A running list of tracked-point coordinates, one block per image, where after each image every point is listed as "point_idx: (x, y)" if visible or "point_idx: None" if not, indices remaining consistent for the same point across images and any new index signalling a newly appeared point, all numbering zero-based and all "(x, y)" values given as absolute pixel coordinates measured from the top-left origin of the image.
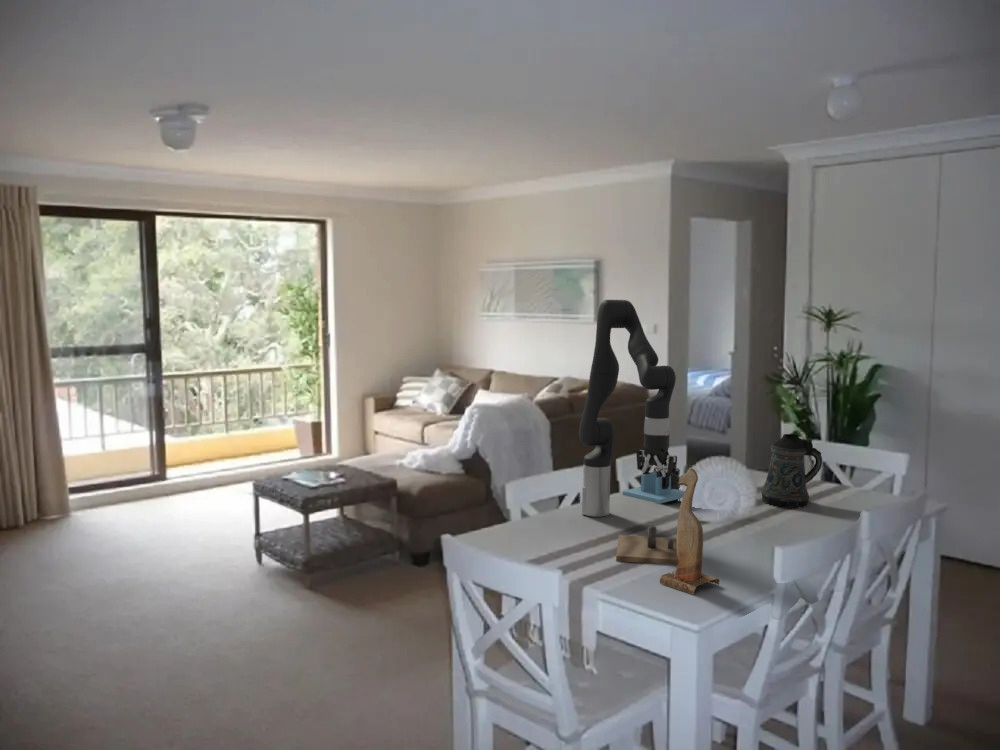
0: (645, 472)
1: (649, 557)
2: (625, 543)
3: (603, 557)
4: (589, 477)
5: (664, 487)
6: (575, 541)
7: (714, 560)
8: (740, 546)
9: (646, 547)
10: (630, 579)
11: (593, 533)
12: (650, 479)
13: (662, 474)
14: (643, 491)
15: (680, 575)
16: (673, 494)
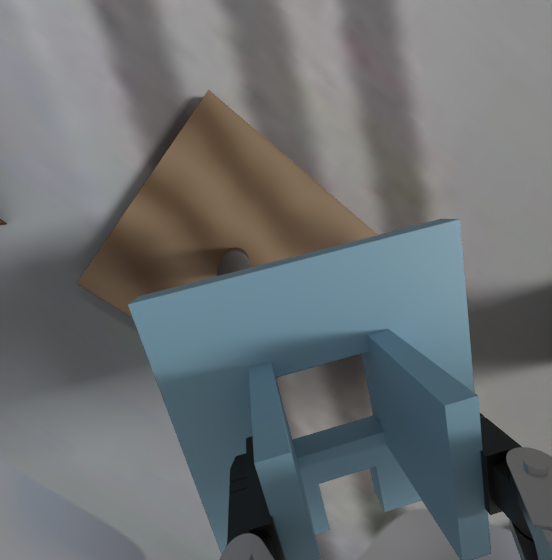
0: (504, 470)
1: (147, 187)
2: (304, 205)
3: (258, 80)
4: None
5: (248, 452)
6: (433, 97)
7: (98, 376)
8: (174, 499)
9: (239, 242)
10: (24, 16)
11: (463, 203)
12: (421, 450)
13: (265, 558)
14: (370, 335)
15: None
16: (217, 462)
